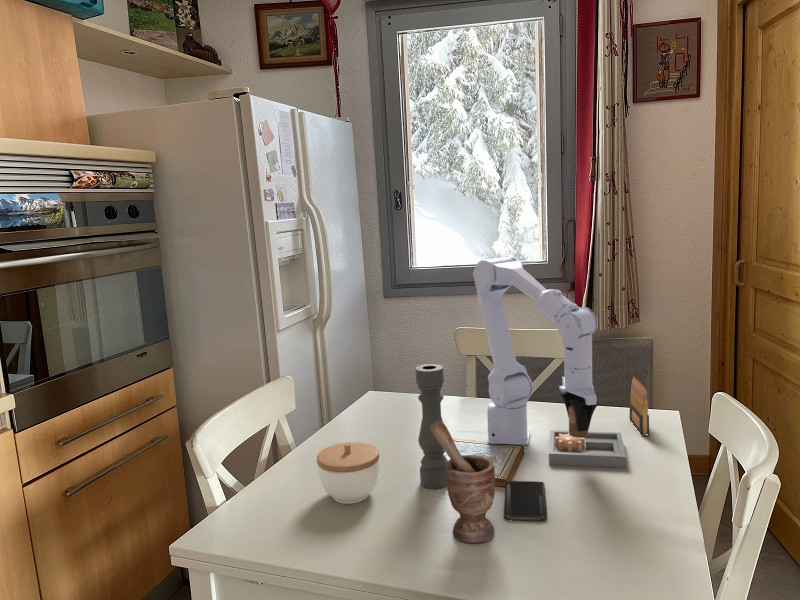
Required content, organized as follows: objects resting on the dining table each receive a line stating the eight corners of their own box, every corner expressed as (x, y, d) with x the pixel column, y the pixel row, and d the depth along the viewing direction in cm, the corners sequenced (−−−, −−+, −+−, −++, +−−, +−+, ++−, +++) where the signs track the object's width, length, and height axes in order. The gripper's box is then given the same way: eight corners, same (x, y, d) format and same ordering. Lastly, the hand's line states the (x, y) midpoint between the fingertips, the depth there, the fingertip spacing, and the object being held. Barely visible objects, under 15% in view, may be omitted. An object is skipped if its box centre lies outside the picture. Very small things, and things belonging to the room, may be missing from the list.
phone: (503, 516, 120) (505, 480, 134) (503, 522, 120) (505, 485, 134) (547, 518, 118) (544, 481, 133) (547, 523, 118) (545, 486, 133)
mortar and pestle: (427, 542, 114) (421, 433, 110) (437, 517, 122) (432, 416, 119) (493, 548, 111) (489, 436, 107) (499, 522, 119) (495, 418, 116)
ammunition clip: (649, 436, 155) (649, 387, 153) (641, 436, 155) (641, 388, 153) (636, 420, 165) (636, 375, 163) (629, 420, 165) (629, 375, 163)
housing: (548, 464, 142) (548, 449, 142) (550, 440, 156) (550, 426, 155) (626, 467, 138) (626, 452, 138) (620, 442, 152) (620, 428, 151)
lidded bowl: (354, 476, 142) (350, 428, 140) (394, 493, 133) (391, 442, 131) (307, 498, 133) (303, 446, 131) (347, 517, 124) (342, 462, 122)
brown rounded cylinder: (573, 438, 138) (573, 411, 138) (566, 431, 142) (565, 405, 141) (591, 436, 139) (591, 409, 138) (583, 429, 143) (582, 403, 142)
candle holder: (454, 478, 138) (448, 364, 134) (443, 491, 133) (437, 372, 129) (427, 474, 141) (421, 362, 137) (415, 486, 135) (409, 370, 131)
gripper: (548, 359, 145) (549, 417, 147) (572, 376, 131) (573, 440, 133) (579, 356, 146) (579, 414, 148) (606, 373, 131) (606, 437, 134)
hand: (578, 426), depth 141 cm, fingers closed on brown rounded cylinder, 4 cm apart
